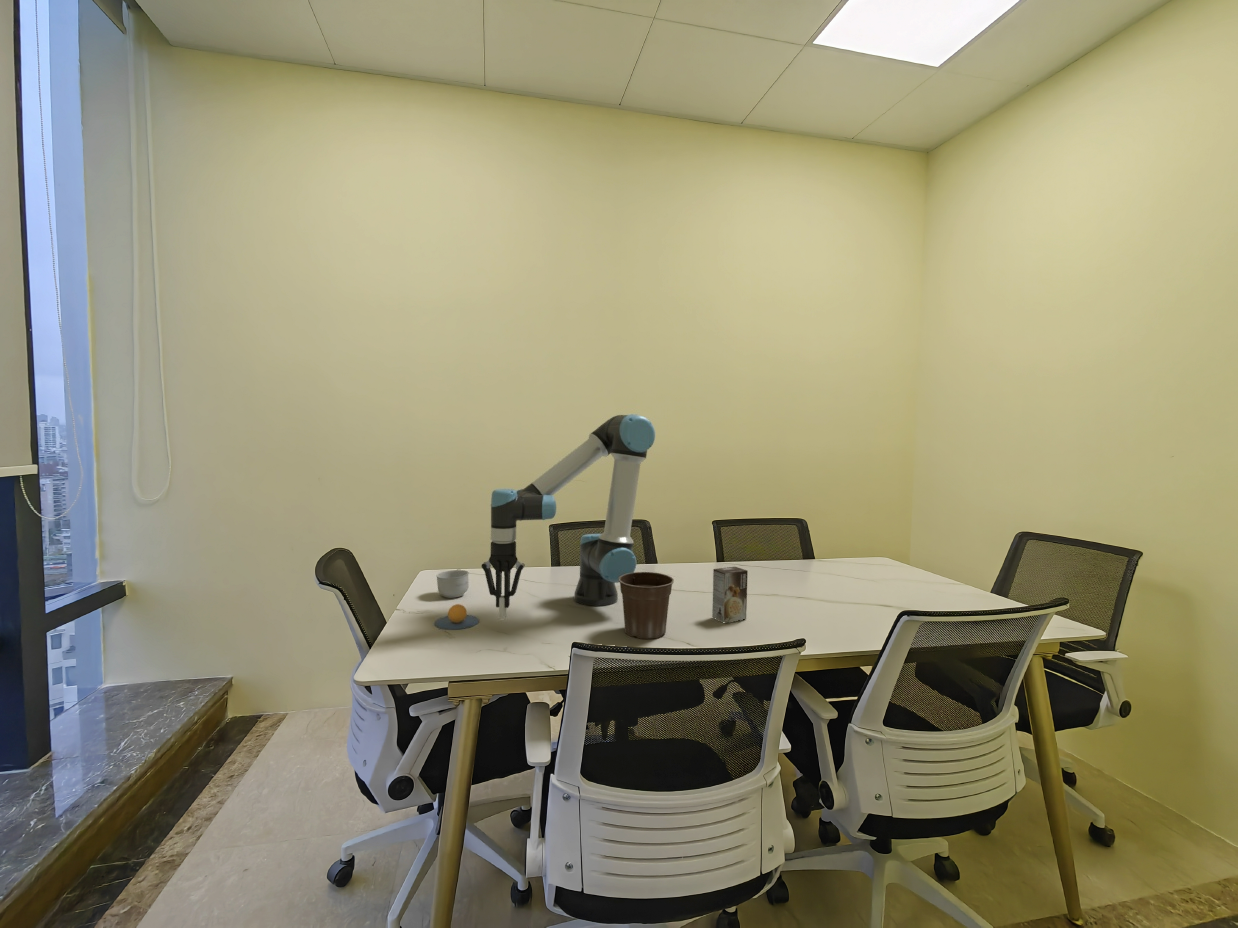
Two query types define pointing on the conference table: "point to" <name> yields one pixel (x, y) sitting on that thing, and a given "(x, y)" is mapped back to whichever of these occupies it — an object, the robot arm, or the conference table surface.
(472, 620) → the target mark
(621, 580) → the plant pot
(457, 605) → the ball
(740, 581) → the coffee box
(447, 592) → the teacup
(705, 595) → the conference table surface
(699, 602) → the conference table surface
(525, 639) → the conference table surface
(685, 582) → the conference table surface
